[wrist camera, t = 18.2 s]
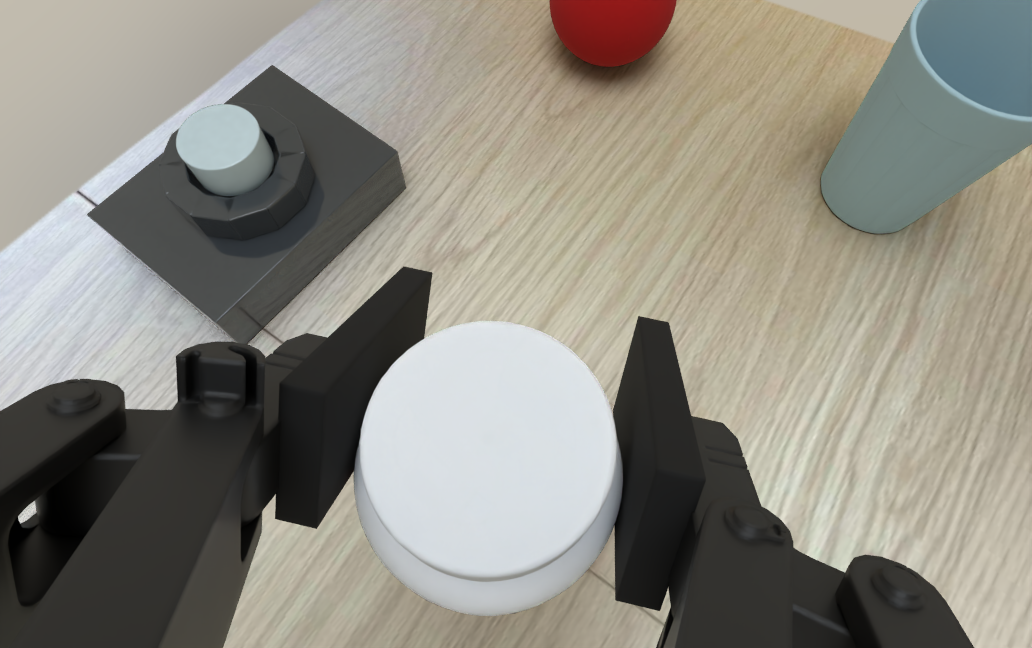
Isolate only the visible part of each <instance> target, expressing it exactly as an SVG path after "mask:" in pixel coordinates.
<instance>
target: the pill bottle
mask: <svg viewBox="0 0 1032 648" xmlns="http://www.w3.org/2000/svg"><path fill="white" fill-rule="evenodd" d="M622 488H623V464H622V457H621V451H620V447H619V442H618V439H617V436H616V428H615V423H614V418H613V414H612V410H611V407H610V405H609V402H608V399H607V397H606V395H605V392H604V390H603V388H602V386H601V384H600V383H599V382H598V380H597V379H596V377H595V375H594V374H593V372H592V371H591V370H590V369H589V367H588V366H587V365H586V364H585V363H584V362H583V361H582V360H581V359H580V358H579V357H578V356H577V355H576V354H575V353H574V352H573V351H572V350H571V349H569V348H568V347H567V346H566V345H564V344H563V343H561V342H560V341H558V340H556V339H555V338H553V337H551V336H550V335H548V334H546V333H544V332H541V331H539V330H536V329H533V328H531V327H528V326H524V325H520V324H516V323H510V322H504V321H476V322H470V323H463V324H459V325H455V326H452V327H449V328H446V329H443V330H441V331H438V332H436V333H434V334H432V335H430V336H428V337H426V338H425V339H423V340H421V341H420V342H418V343H417V344H415V345H414V346H412V347H411V348H410V349H408V350H407V351H406V352H405V353H404V354H403V355H402V356H401V357H399V358H398V359H397V360H396V361H395V362H394V363H393V364H392V365H391V366H390V368H389V369H388V371H387V372H386V374H385V375H384V376H383V377H382V378H381V380H380V382H379V383H378V385H377V387H376V389H375V390H374V392H373V395H372V397H371V399H370V401H369V404H368V407H367V410H366V413H365V416H364V420H363V424H362V428H361V436H360V440H359V444H358V448H357V453H356V458H355V468H354V492H355V500H356V506H357V511H358V515H359V518H360V522H361V525H362V527H363V530H364V532H365V535H366V537H367V539H368V541H369V543H370V545H371V547H372V549H373V550H374V552H375V553H376V555H377V556H378V558H379V559H380V560H381V562H382V563H383V565H384V566H385V567H386V568H387V569H388V570H389V571H390V572H391V573H392V574H393V575H394V576H395V577H396V578H397V579H398V580H399V581H400V582H401V583H403V584H404V585H405V586H406V587H408V588H409V589H410V590H412V591H413V592H414V593H416V594H417V595H419V596H421V597H422V598H424V599H425V600H427V601H429V602H431V603H434V604H436V605H438V606H440V607H443V608H446V609H449V610H452V611H455V612H460V613H465V614H470V615H477V616H497V615H506V614H513V613H517V612H520V611H524V610H527V609H530V608H533V607H535V606H538V605H540V604H542V603H544V602H546V601H548V600H550V599H552V598H554V597H555V596H557V595H559V594H560V593H562V592H563V591H565V590H566V589H567V588H569V587H570V586H571V585H572V584H574V583H575V582H576V581H577V580H578V579H579V578H580V577H581V576H582V575H583V574H584V573H585V572H586V571H587V570H588V569H589V567H590V566H591V565H592V564H593V563H594V561H595V560H596V559H597V557H598V556H599V554H600V553H601V551H602V550H603V548H604V546H605V544H606V543H607V541H608V539H609V536H610V534H611V532H612V530H613V527H614V525H615V522H616V519H617V515H618V512H619V508H620V503H621V498H622Z"/></svg>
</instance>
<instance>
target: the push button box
mask: <svg viewBox="0 0 1032 648" xmlns="http://www.w3.org/2000/svg"><path fill="white" fill-rule="evenodd" d="M224 104H230V105H236V106H239V107H241V108H244V109H245V110H247V111H249V112H250V113H251V114H252V115H253V116H254V117H255V119H256V120H257V122H258V124H259V126H260V128H261V129H262V131H263V133H264V135H265V137H266V139H267V141H268V143H269V145H270V147H271V148H272V151H273V154H274V166H273V169H272V172H271V174H270V175H269V177H268V178H267V180H266V181H265V182H264V183H263V184H261V185H260V186H259V187H258V188H256V189H255V190H253V191H251V192H248V193H245V194H241V195H238V196H221V195H217V194H214V193H212V192H210V191H208V190H206V189H205V188H204V187H203V186H202V185H201V184H200V182H199V181H198V180H197V178H196V177H195V176H194V174H193V173H192V172H191V170H190V169H189V168H188V166H187V165H186V164H185V162H184V161H183V160H182V158H181V157H180V155H179V154H178V151H177V148H176V137H177V133H178V131H179V129H180V128H179V129H178V130H177V131H175V132H174V133H173V134H172V135H171V137H170V139H169V141H168V143H167V146H166V148H165V150H164V153H162V154H161V155H160V156H159V157H157V158H156V159H155V160H154V161H152V162H151V163H150V164H149V165H147V166H146V167H145V168H144V169H142V170H141V171H140V172H139V173H138V174H136V175H135V176H134V177H133V178H131V179H130V180H129V181H128V182H126V183H125V184H124V185H123V186H121V187H120V188H119V189H118V190H116V191H115V192H114V193H113V194H112V195H110V196H109V197H108V198H107V199H105V200H104V201H103V202H102V203H100V204H99V205H98V206H97V207H95V208H94V209H93V210H92V211H90V212H89V213H88V214H87V215H88V216H89V217H90V218H91V219H92V220H93V221H94V222H95V223H96V224H97V225H99V226H100V227H101V228H102V229H103V230H104V231H105V232H106V233H108V234H109V235H110V236H111V237H112V238H113V239H114V240H115V241H117V242H118V243H119V244H120V245H121V246H122V247H123V248H124V249H126V250H127V251H128V252H129V253H130V254H132V255H133V256H134V257H135V258H136V259H137V260H139V261H140V262H141V263H142V264H143V265H145V266H146V267H147V268H148V269H149V270H151V271H152V272H153V273H154V274H155V275H156V276H158V277H159V278H160V279H161V280H162V281H164V282H165V283H166V284H167V285H168V286H170V287H171V288H172V289H173V290H174V291H175V292H177V293H178V294H179V295H180V296H181V297H183V298H184V299H185V300H186V301H187V302H189V303H190V304H191V305H192V306H193V307H195V308H196V309H197V310H198V311H199V312H200V313H202V314H203V315H204V316H205V317H206V318H208V319H209V320H210V321H211V322H212V323H214V324H215V325H216V326H217V327H218V328H219V329H221V330H222V331H223V332H224V333H225V334H227V335H228V336H229V337H230V338H231V339H233V340H234V341H235V342H236V343H241V344H247V343H248V342H249V341H250V340H251V339H252V338H253V337H254V336H255V335H256V334H257V333H258V332H259V331H260V330H261V329H262V328H263V327H264V326H265V325H266V324H267V323H268V322H269V321H270V320H271V319H272V318H273V317H274V316H275V315H276V314H277V313H279V312H280V311H281V310H282V309H283V308H284V307H285V306H286V305H287V304H288V303H289V302H290V301H291V300H292V299H293V298H294V297H295V296H296V295H297V294H298V293H299V292H300V291H301V290H302V289H303V288H304V287H305V286H306V285H307V284H308V283H309V282H310V281H311V280H312V279H313V278H314V277H315V276H316V275H317V274H318V273H319V272H320V271H321V270H322V269H323V268H325V267H326V266H327V265H328V264H329V263H330V262H331V261H332V260H333V259H334V258H335V257H336V256H337V255H338V254H339V253H340V252H341V251H342V250H343V249H344V248H345V247H346V246H347V245H348V244H349V243H350V242H351V241H352V240H353V239H354V238H355V237H356V236H357V235H358V234H359V233H360V232H361V231H362V230H363V229H364V228H365V227H366V226H367V225H368V224H369V223H371V222H372V221H373V220H374V219H375V218H376V217H377V216H378V215H379V214H380V213H381V212H382V211H383V210H384V209H385V208H386V207H387V206H388V205H389V204H390V203H391V202H392V201H393V200H394V199H395V198H396V197H397V196H398V195H399V194H400V193H401V192H402V191H403V190H404V189H405V188H406V185H405V181H404V177H403V173H402V169H401V164H400V160H399V156H398V152H397V151H396V150H395V149H393V148H392V147H391V146H389V145H388V144H386V143H385V142H383V141H382V140H380V139H379V138H378V137H376V136H375V135H373V134H372V133H370V132H369V131H367V130H366V129H364V128H363V127H362V126H360V125H359V124H357V123H356V122H354V121H353V120H351V119H350V118H349V117H347V116H346V115H344V114H343V113H341V112H340V111H338V110H337V109H335V108H334V107H333V106H331V105H330V104H328V103H327V102H325V101H324V100H322V99H321V98H320V97H318V96H317V95H315V94H314V93H312V92H311V91H309V90H308V89H306V88H305V87H304V86H302V85H301V84H299V83H298V82H296V81H295V80H293V79H292V78H291V77H289V76H288V75H286V74H285V73H283V72H282V71H280V70H279V69H277V68H276V67H275V66H273V65H271V66H270V67H269V68H268V69H266V70H265V71H264V72H263V73H261V74H260V75H259V76H258V77H257V78H255V79H254V80H253V81H252V82H250V83H249V84H248V85H247V86H245V87H244V88H243V89H242V90H240V91H239V92H238V93H237V94H235V95H234V96H233V97H232V98H231V99H229V100H228V101H227V102H226V103H224Z"/></svg>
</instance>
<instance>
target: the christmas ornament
mask: <svg viewBox="0 0 1032 648" xmlns="http://www.w3.org/2000/svg"><path fill="white" fill-rule="evenodd" d="M675 6H676V0H550V12H551V17H552V21H553V24H554V27H555V30H556V32H557V34H558V36H559V38H560V39H561V41H562V42H563V43H564V45H565V46H566V47H567V48H568V49H569V50H570V51H571V52H572V53H573V54H574V55H576V56H577V57H578V58H580V59H582V60H584V61H585V62H588V63H591V64H593V65H598V66H605V67H614V66H620V65H625V64H628V63H630V62H633V61H635V60H637V59H639V58H640V57H642V56H644V55H645V54H647V53H648V52H649V51H650V50H651V49H652V48H653V47H654V46H655V45H656V44H657V43H658V42H659V41H660V39H661V38H662V37H663V35H664V34H665V32H666V30H667V29H668V27H669V24H670V22H671V20H672V17H673V14H674V10H675Z"/></svg>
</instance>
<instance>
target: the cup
mask: <svg viewBox="0 0 1032 648" xmlns="http://www.w3.org/2000/svg"><path fill="white" fill-rule="evenodd" d="M1031 144H1032V0H921V1H920V2H919V3H918V4H917V6H916V7H915V9H914V11H913V12H912V14H911V16H910V18H909V19H908V21H907V23H906V25H905V26H904V28H903V30H902V32H901V33H900V35H899V37H898V39H897V40H896V42H895V44H894V46H893V48H892V50H891V53H890V54H889V56H888V58H887V60H886V61H885V63H884V65H883V67H882V68H881V70H880V72H879V74H878V75H877V77H876V79H875V81H874V82H873V84H872V86H871V88H870V89H869V91H868V93H867V95H866V96H865V98H864V100H863V102H862V103H861V105H860V107H859V109H858V110H857V112H856V114H855V116H854V117H853V119H852V121H851V123H850V124H849V126H848V128H847V130H846V131H845V133H844V135H843V137H842V138H841V140H840V142H839V144H838V145H837V147H836V149H835V151H834V152H833V154H832V156H831V158H830V160H829V161H828V163H827V165H826V167H825V169H824V171H823V173H822V176H821V189H822V194H823V197H824V199H825V201H826V203H827V205H828V206H829V208H830V209H831V210H832V212H833V213H834V214H835V215H836V216H837V217H839V218H840V219H841V220H842V221H844V222H845V223H847V224H848V225H850V226H852V227H854V228H856V229H859V230H862V231H865V232H869V233H876V234H882V233H893V232H897V231H899V230H901V229H903V228H904V227H906V226H908V225H910V224H911V223H913V222H915V221H916V220H918V219H919V218H921V217H922V216H924V215H925V214H927V213H928V212H930V211H931V210H933V209H934V208H936V207H937V206H939V205H940V204H942V203H943V202H945V201H946V200H948V199H949V198H951V197H952V196H954V195H955V194H957V193H958V192H960V191H961V190H963V189H964V188H966V187H967V186H969V185H970V184H972V183H973V182H975V181H976V180H978V179H980V178H981V177H983V176H984V175H986V174H987V173H989V172H990V171H992V170H993V169H995V168H996V167H998V166H999V165H1001V164H1002V163H1004V162H1005V161H1007V160H1008V159H1010V158H1011V157H1013V156H1014V155H1016V154H1017V153H1019V152H1020V151H1022V150H1023V149H1025V148H1026V147H1028V146H1029V145H1031Z"/></svg>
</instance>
